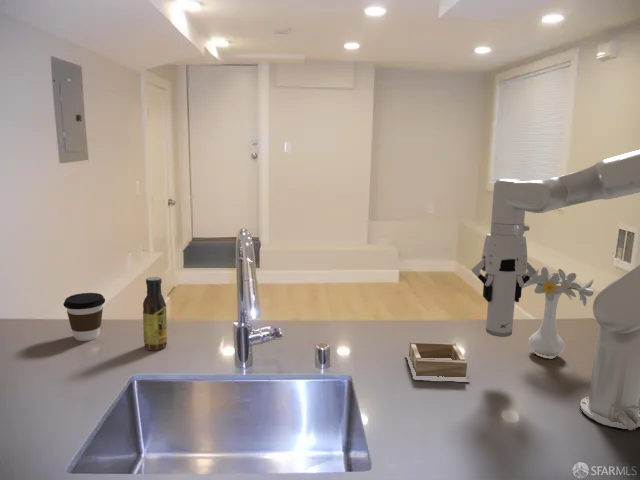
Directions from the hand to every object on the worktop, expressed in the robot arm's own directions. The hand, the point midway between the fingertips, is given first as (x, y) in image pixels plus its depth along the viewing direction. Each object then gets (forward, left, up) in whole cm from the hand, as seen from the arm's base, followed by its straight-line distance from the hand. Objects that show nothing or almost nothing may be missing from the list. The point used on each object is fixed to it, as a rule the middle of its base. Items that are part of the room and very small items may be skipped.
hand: (501, 299), depth 126 cm
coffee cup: (+15, +113, -21) cm, 116 cm away
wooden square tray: (+2, +14, -20) cm, 25 cm away
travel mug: (0, 0, -9) cm, 9 cm away
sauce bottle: (+10, +91, -21) cm, 94 cm away
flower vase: (+14, -20, -21) cm, 32 cm away
